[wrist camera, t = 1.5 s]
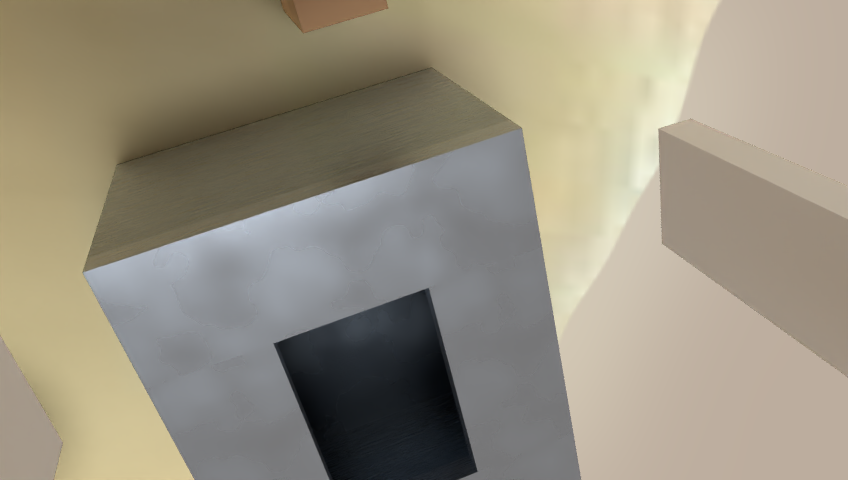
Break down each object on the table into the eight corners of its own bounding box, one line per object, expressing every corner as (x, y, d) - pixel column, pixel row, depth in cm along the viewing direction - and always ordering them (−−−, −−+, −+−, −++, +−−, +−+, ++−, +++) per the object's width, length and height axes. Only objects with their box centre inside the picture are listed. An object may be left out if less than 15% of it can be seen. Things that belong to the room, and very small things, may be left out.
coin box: (117, 164, 29) (82, 272, 21) (431, 67, 31) (521, 128, 23) (260, 469, 38) (279, 636, 29) (501, 376, 40) (585, 507, 31)
